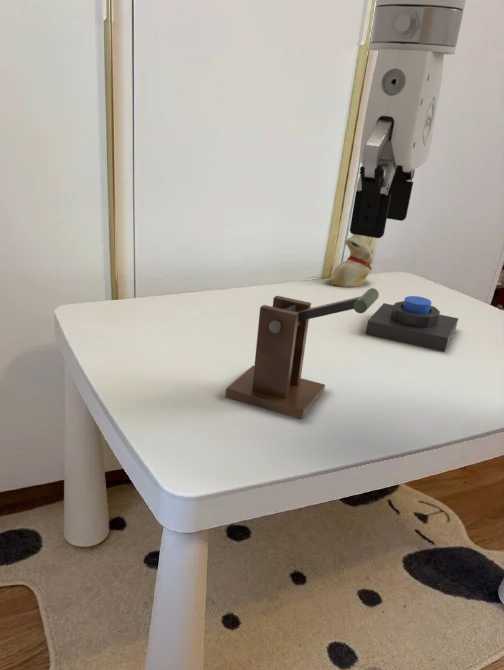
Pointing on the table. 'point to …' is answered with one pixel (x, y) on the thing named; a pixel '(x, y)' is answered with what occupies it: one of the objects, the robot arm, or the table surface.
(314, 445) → the table surface
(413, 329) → the button block
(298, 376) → the lever bracket
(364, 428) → the table surface
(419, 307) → the blue button
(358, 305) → the light lever
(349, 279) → the chocolate bunny
